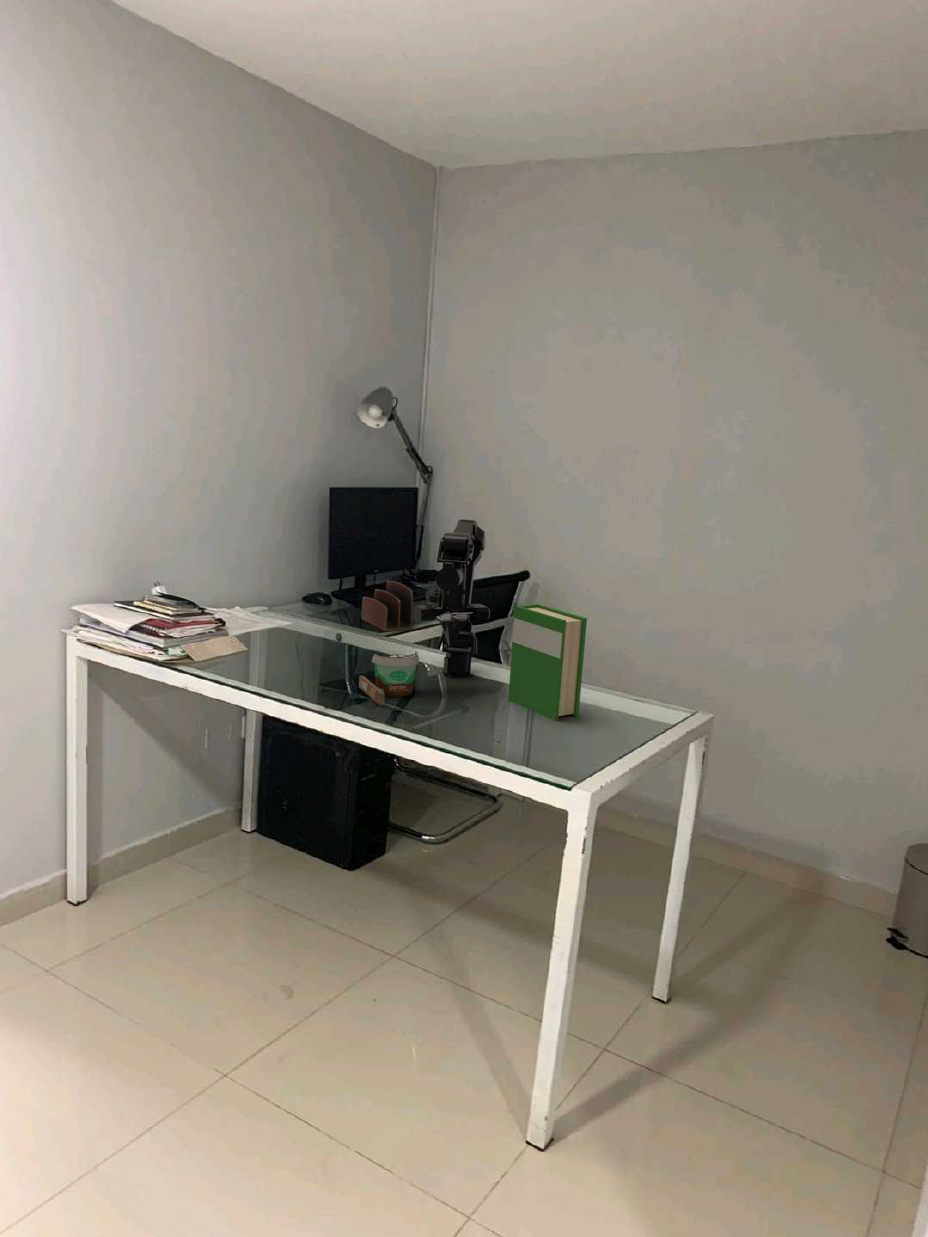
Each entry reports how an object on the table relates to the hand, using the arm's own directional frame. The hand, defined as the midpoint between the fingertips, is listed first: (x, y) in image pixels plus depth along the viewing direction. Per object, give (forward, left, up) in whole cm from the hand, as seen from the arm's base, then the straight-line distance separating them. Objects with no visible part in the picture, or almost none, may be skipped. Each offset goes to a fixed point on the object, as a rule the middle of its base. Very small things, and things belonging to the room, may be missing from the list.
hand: (450, 645), depth 234 cm
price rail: (+20, 0, -12) cm, 24 cm away
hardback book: (-17, +19, -12) cm, 28 cm away
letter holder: (-11, -76, -12) cm, 78 cm away
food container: (+13, 0, -12) cm, 18 cm away
